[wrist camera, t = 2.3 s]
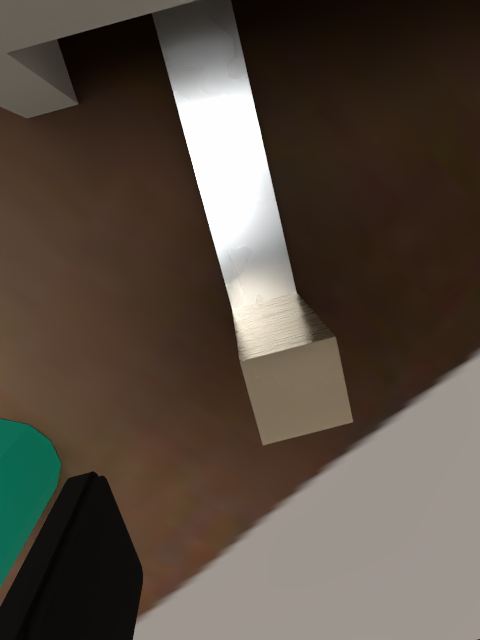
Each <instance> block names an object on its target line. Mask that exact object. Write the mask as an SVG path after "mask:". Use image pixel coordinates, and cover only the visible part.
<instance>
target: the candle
mask: <svg viewBox="0 0 480 640" xmlns="http://www.w3.org/2000/svg"><path fill="white" fill-rule="evenodd" d="M60 468H61V462H60V460H59V458H58V456H57V453H56V451H55V449H54V447H53V444H52V442H51V441H50V440H49V439H47V438H46V437H45V436H43V435H42V434H41V433H39V432H38V431H37V430H35V429H34V428H33V427H31V426H30V425H28V424H23V423H18V422H13V421H8V420H4V419H0V587H1V585H2V583H3V582H4V580H5V578H6V576H7V575H8V573H9V571H10V569H11V567H12V566H13V564H14V562H15V560H16V559H17V557H18V555H19V553H20V551H21V550H22V548H23V546H24V544H25V543H26V541H27V539H28V537H29V535H30V534H31V532H32V530H33V528H34V526H35V525H36V523H37V521H38V519H39V518H40V516H41V514H42V512H43V510H44V509H45V507H46V505H47V503H48V502H49V500H50V498H51V496H52V494H53V493H54V491H55V489H56V487H57V484H58V479H59V473H60Z"/></svg>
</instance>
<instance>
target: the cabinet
mask: <svg viewBox="0 0 480 640" xmlns="http://www.w3.org/2000/svg"><path fill="white" fill-rule="evenodd" d="M193 1H196V0H0V107H2V108H4V109H7V110H9V111H11V112H13V113H16V114H18V115H20V116H22V117H25V118H31V117H35V116H38V115H42V114H46V113H49V112H53V111H57V110H60V109H64V108H67V107H71V106H75V105H78V101H77V98H76V95H75V92H74V89H73V86H72V83H71V80H70V77H69V74H68V71H67V68H66V65H65V62H64V59H63V56H62V53H61V50H60V47H59V44H58V41H57V39H59V38H63V37H66V36H70V35H73V34H77V33H81V32H84V31H88V30H91V29H95V28H99V27H102V26H106V25H110V24H113V23H117V22H120V21H124V20H128V19H131V18H135V17H138V16H142V15H146V14H149V13H153V12H157V11H160V10H164V9H167V8H171V7H175V6H178V5H182V4H185V3H189V2H193Z"/></svg>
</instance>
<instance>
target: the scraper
mask: <svg viewBox="0 0 480 640" xmlns="http://www.w3.org/2000/svg"><path fill="white" fill-rule="evenodd" d="M152 16H153V20H154V24H155V27H156V31H157V35H158V38H159V42H160V46H161V49H162V53H163V57H164V60H165V64H166V68H167V71H168V75H169V79H170V82H171V86H172V90H173V94H174V97H175V101H176V105H177V108H178V112H179V116H180V119H181V123H182V127H183V130H184V134H185V138H186V141H187V145H188V149H189V152H190V156H191V160H192V163H193V167H194V171H195V175H196V178H197V182H198V186H199V189H200V193H201V197H202V200H203V204H204V208H205V211H206V215H207V219H208V222H209V226H210V230H211V233H212V237H213V241H214V245H215V248H216V252H217V256H218V259H219V263H220V267H221V270H222V274H223V278H224V281H225V285H226V289H227V292H228V296H229V300H230V303H231V307H232V312H233V319H234V326H235V333H236V340H237V346H238V353H239V360H240V364H241V368H242V372H243V375H244V379H245V383H246V386H247V390H248V393H249V397H250V401H251V404H252V408H253V411H254V415H255V419H256V422H257V426H258V430H259V433H260V437H261V440H262V444H263V445H266V444H270V443H274V442H278V441H282V440H286V439H290V438H294V437H298V436H301V435H305V434H309V433H313V432H317V431H321V430H325V429H329V428H333V427H336V426H340V425H344V424H348V423H352V422H353V419H352V414H351V409H350V404H349V399H348V394H347V389H346V384H345V380H344V375H343V370H342V365H341V360H340V355H339V350H338V345H337V340H336V336H335V335H334V334H333V333H332V332H331V331H330V329H329V328H328V327H327V326H326V325H325V324H324V323H323V322H322V321H321V319H320V318H319V317H318V316H317V315H316V314H315V313H314V312H313V310H312V309H311V308H310V307H309V306H308V305H307V304H306V303H305V301H304V300H303V299H302V298H301V297H300V296H299V295H298V294H297V292H296V288H295V284H294V279H293V275H292V270H291V266H290V261H289V257H288V253H287V248H286V244H285V239H284V235H283V230H282V226H281V221H280V217H279V212H278V208H277V203H276V199H275V195H274V190H273V186H272V181H271V177H270V172H269V168H268V163H267V159H266V154H265V150H264V146H263V141H262V137H261V132H260V128H259V123H258V119H257V114H256V110H255V105H254V101H253V97H252V92H251V88H250V83H249V79H248V74H247V70H246V65H245V61H244V56H243V52H242V48H241V43H240V39H239V34H238V30H237V25H236V21H235V16H234V12H233V7H232V3H231V0H196V1H193V2H189V3H185V4H182V5H178V6H175V7H171V8H167V9H164V10H160V11H157V12H153V13H152Z"/></svg>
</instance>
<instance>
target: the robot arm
mask: <svg viewBox="0 0 480 640" xmlns="http://www.w3.org/2000/svg"><path fill="white" fill-rule="evenodd" d="M142 585H143V571H142V566H141V563H140V561H139V558H138V556H137V553H136V551H135V548H134V546H133V543H132V541H131V538H130V536H129V533H128V531H127V528H126V526H125V523H124V521H123V518H122V516H121V513H120V511H119V508H118V506H117V503H116V501H115V499H114V496H113V494H112V491H111V489H110V486H109V484H108V481H107V479H106V478H105V477H104V476H98V475H97V474H96V473H95V472H90V473H86V474H82V475H78V476H75V477H71V478H68V480H67V481H66V483H65V485H64V486H63V488H62V490H61V492H60V494H59V496H58V498H57V500H56V502H55V504H54V506H53V507H52V509H51V511H50V513H49V515H48V517H47V519H46V521H45V523H44V525H43V527H42V528H41V530H40V532H39V534H38V536H37V538H36V540H35V542H34V544H33V546H32V548H31V549H30V551H29V553H28V555H27V557H26V559H25V561H24V563H23V565H22V567H21V569H20V570H19V572H18V574H17V576H16V578H15V580H14V582H13V584H12V586H11V588H10V589H9V591H8V593H7V595H6V597H5V599H4V601H3V603H2V605H1V607H0V640H133V635H134V629H135V624H136V618H137V613H138V607H139V601H140V596H141V590H142ZM478 640H480V639H478Z"/></svg>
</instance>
